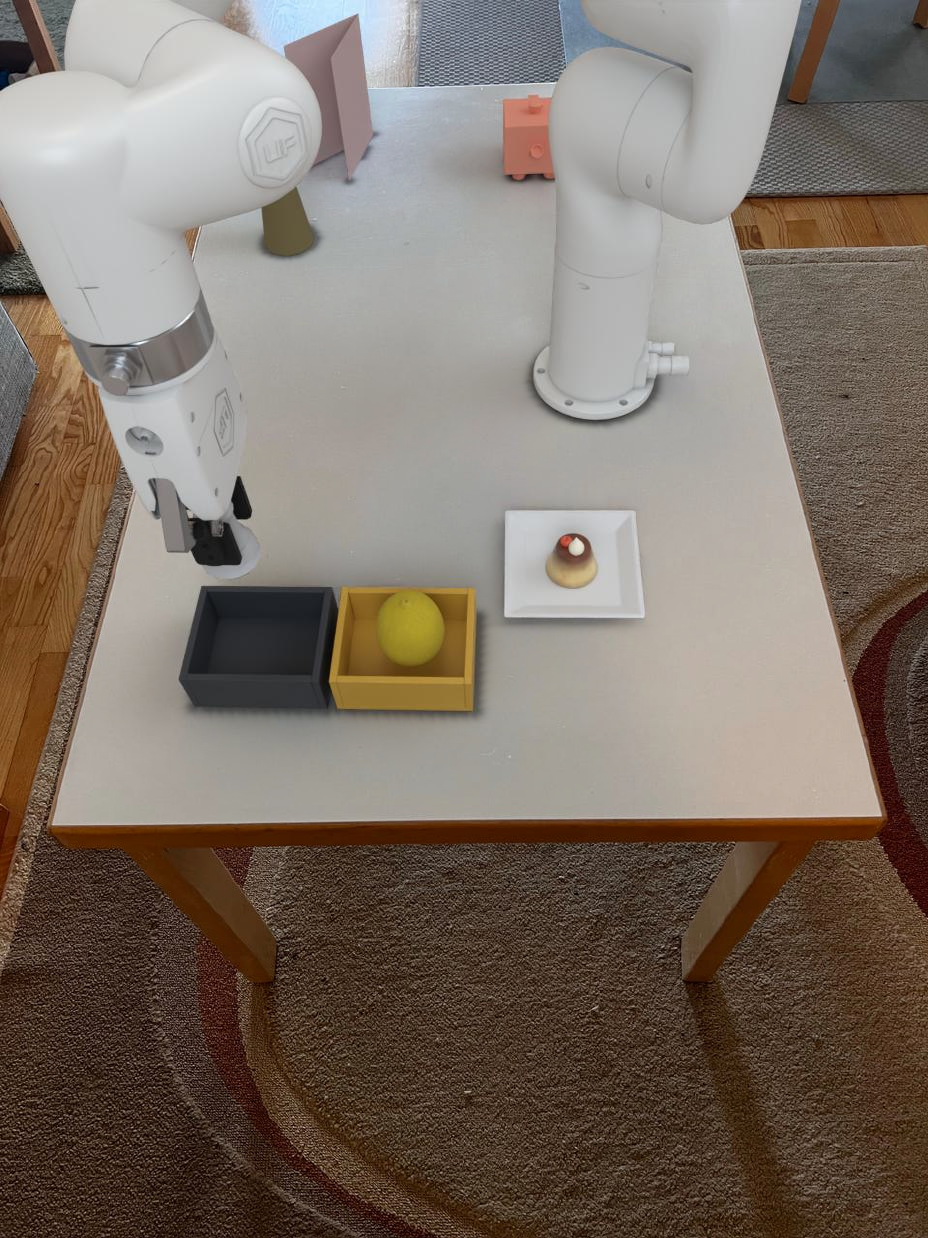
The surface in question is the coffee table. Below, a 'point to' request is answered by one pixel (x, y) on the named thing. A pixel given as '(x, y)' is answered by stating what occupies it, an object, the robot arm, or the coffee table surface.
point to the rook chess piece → (246, 546)
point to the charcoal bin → (261, 647)
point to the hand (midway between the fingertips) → (225, 536)
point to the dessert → (572, 564)
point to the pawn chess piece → (286, 225)
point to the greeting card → (337, 88)
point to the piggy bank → (526, 137)
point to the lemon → (410, 628)
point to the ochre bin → (389, 686)
